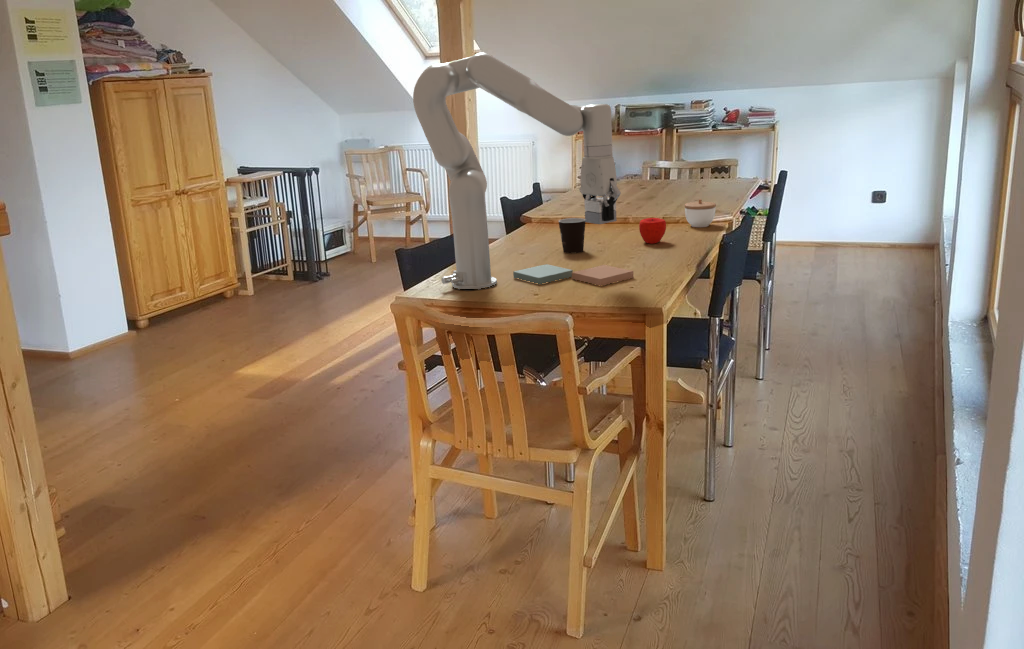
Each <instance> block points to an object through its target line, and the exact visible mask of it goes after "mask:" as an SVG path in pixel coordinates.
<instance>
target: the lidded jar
mask: <svg viewBox="0 0 1024 649" xmlns="http://www.w3.org/2000/svg"><path fill="white" fill-rule="evenodd" d="M702 200H703V199H702V198H699V199H698V201H691V202H686V203H685V204H684V214H685V215H684V216H685V218H686V221H687V223H688V224H690V226H691V227H693V228H707V227H709V226H710V225H711V223H713V221H714V219H715V215H716V206H717V205H716V202H713V201H702Z"/></svg>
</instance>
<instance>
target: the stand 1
mask: <svg viewBox="0 0 1024 649" xmlns="http://www.w3.org/2000/svg"><path fill="white" fill-rule="evenodd" d="M512 272H513V273H512V274H513V279H514V278H519V279H522V280H526V281H530V282H534V283H538V284H541V285H543V284H542V283H546V282H550V283H552V282H551V281H554V282H556V281H555V280H558V281H560V280H559V279H563V280H565V279H564V278H567V279H570V278H569V277H571V278H572V272H574V270H573V269H570V268H566V267H561V266H556V265H552V264H547V263H546V264H541V265H536V266H532V267H528V268H524V269H519V270H514V271H512ZM522 280H521V281H522ZM526 281H525V282H526ZM530 282H529V283H530ZM546 284H547V283H546Z"/></svg>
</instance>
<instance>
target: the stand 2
mask: <svg viewBox="0 0 1024 649" xmlns="http://www.w3.org/2000/svg"><path fill="white" fill-rule="evenodd" d="M630 278H632V279H634V270H631V269H627V268H620V267H616V266H612V265H611V266H610V265H607V264H602V265H598V266H595V267H594V266H593V267H590V268H585V269H581V270H575V271H573V272H572V277H571V280H572V279H575V280H574V281H577V280H580V281H579V282H581V281H584V282H583V283H585V282H588V283H587V284H589V283H592V284H591V285H593V284H596V285H595V286H597V285H600V286H599V287H602V286H601V285H604V286H606V284H608V285H611V284H610V283H612V284H614V283H613V282H616V283H618V282H617V281H620V282H623V281H622V280H624V281H627V280H626V279H628V280H630Z"/></svg>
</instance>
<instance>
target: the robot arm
mask: <svg viewBox="0 0 1024 649" xmlns="http://www.w3.org/2000/svg"><path fill="white" fill-rule="evenodd" d="M479 88H480V89H481V90H482V91H485V92H486V93H488V94H491V95H492V96H494V97H495V98H497V99H498V100H501V101H503V103H506V104H507V105H508V106H511V107H512V108H514V109H516V110H517V111H520V112H521V113H523V114H526V115H527V116H528V117H531V118H533V119H534V120H536V121H538V122H539V123H541V124H543V125H544V126H546V127H548V128H550V129H551V130H553V131H555V132H556V133H558V134H560V135H562V136H566V137H571V136H574V135H576V134H577V133H579V132H582V133H583V156H584V157H582V159H581V165H580V187H579V192H580V193H581V196H582V198H583V199H584V200H588V199H594V198H597V197H603V200H604V204H605V206H603V213H604V221H610V220H614V205H615V202H616V203H617V200H618V198H619V197H620V196H621V194H622V193H621V191H620V189H619V187H618V185H617V171H616V162H615V158H614V157H613V156H614V155H613V128H612V127H613V126H612V125H613V124H612V108H611V106H610V105H609V104H607V103H593V104H587V105H576V104H575V105H574V104H569V103H567V102H566V101H564V100H562V99H561V98H559V97H558V96H556V95H554V94H553V93H550V92H549V91H548V90H545V88H543V87H542V86H540V85H539V84H538V83H537V82H536V81H535V80H533V79H531V78H530V77H528V76H527V75H526V74H523V73H522V72H520V71H518V70H517V69H515V68H513V67H511V66H510V65H508V64H506V63H504V62H503V61H501V60H499V59H497V58H496V57H494V56H493V55H491V54H490V53H486V52H477V53H475V54H473V55H472V56H469V57H465V58H462V59H458V60H456V59H455V60H452V61H449V62H448V61H447V62H444V63H433V64H430V65H429V66H428V67H426V68H425V69H424V70H423V71H422V73H421V74H420V76H419V77H418V78H417V80H416V83H415V84H414V87H413V95H412V101H413V102H412V103H413V108H414V112H415V114H416V116H417V119H418V121H419V124H420V126H421V129H422V131H423V133H424V136H425V138H426V140H427V142H428V145H429V147H430V149H431V151H432V153H433V154H432V155H433V157H434V159H435V161H436V163H437V164H438V165H439V166H441V168H444V170H445V172H446V174H447V176H448V179H449V180H450V184H449V185H448V186H449V187H448V199H449V206H450V212H451V213H450V214H451V221H452V224H451V225H452V234H453V244H454V245H453V246H454V257H455V258H454V260H455V267H456V268H455V269H456V270H452V273H451V274H450V275H446V276H442V277H441V280H440V281H441V283H442V284H443V285H445V284H449V283H450V284H451V286H453V287H454V288H453V287H452V288H453V289H455V288H458V289H457V290H460V289H478V290H482V289H481V288H485V287H489V288H491V287H490V286H492V285H494V286H496V285H497V284H498V280H497V278H496V277H494V276H492V272H491V271H492V270H491V258H490V257H491V255H490V243H489V231H488V230H489V228H488V218H487V217H488V215H487V205H486V192H487V187H488V181H487V178H486V175H485V173H484V171H483V168H482V166H481V164H480V162H479V160H478V157H477V155H476V153H475V150H474V148H473V146H472V144H471V142H470V140H469V139H468V137H466V136H465V134H463V133H462V132H460V131H459V129H458V126H456V125H457V124H456V123H455V121H454V118H453V116H452V113H451V112H450V109H449V107H448V105H447V101H446V99H447V97H448V96H452V95H456V94H460V93H464V92H468V91H472V90H475V89H479ZM608 198H609V200H608ZM496 283H497V284H496ZM495 284H496V285H495ZM492 287H493V286H492ZM485 289H486V288H485Z"/></svg>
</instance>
